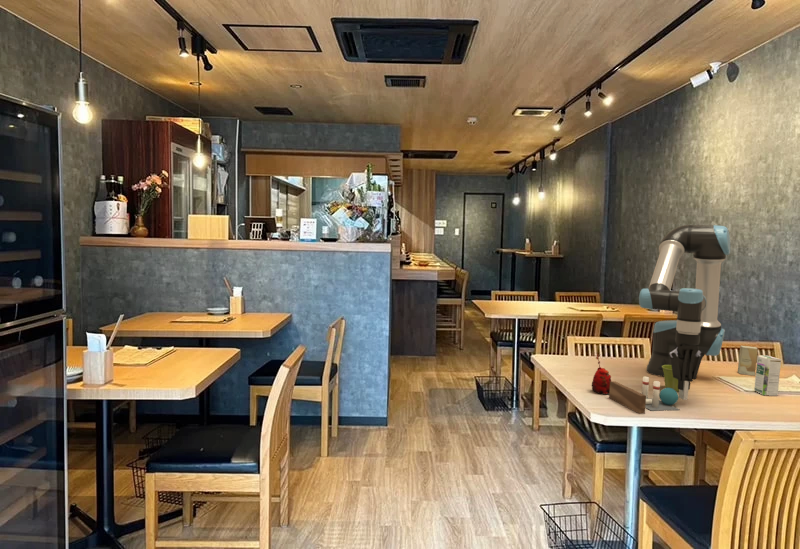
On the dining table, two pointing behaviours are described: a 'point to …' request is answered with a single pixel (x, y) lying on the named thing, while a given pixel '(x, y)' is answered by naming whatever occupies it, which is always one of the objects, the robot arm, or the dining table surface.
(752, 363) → the skincare box
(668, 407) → the pin deck mark
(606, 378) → the red clay folk toy
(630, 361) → the dining table surface
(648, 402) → the pin front
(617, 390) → the bar
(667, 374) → the plant pot
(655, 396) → the pin back left
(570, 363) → the dining table surface
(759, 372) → the syrup box
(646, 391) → the pin back right
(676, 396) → the ball
